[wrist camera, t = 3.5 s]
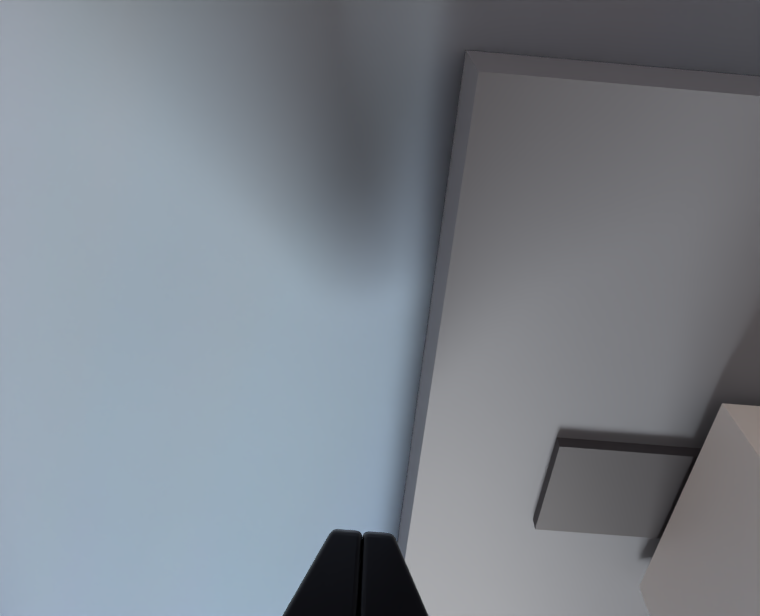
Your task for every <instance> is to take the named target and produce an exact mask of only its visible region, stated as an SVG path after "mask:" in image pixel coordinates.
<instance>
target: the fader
mask: <svg viewBox="0 0 760 616" xmlns="http://www.w3.org/2000/svg"><path fill="white" fill-rule="evenodd" d="M639 587H640V590H641V593H642V595H643V598H644V601H645V603H646V606H647V609H648V611H649V614H650V616H760V406H751V405H738V404H725V403H722V405H721V407H720V409H719V411H718V413H717V416H716V418H715V420H714V422H713V424H712V427H711V429H710V431H709V433H708V436H707V438H706V440H705V442H704V444H703V447H702V449H701V451H700V453H699V455H698V458H697V460H696V462H695V464H694V467H693V469H692V471H691V473H690V475H689V478H688V480H687V482H686V484H685V486H684V489H683V491H682V493H681V495H680V497H679V500H678V502H677V504H676V506H675V509H674V511H673V513H672V515H671V517H670V520H669V522H668V524H667V526H666V528H665V531H664V533H663V535H662V537H661V540H660V542H659V544H658V546H657V548H656V551H655V553H654V555H653V557H652V559H651V562H650V564H649V566H648V568H647V570H646V573H645V575H644V577H643V579H642V582H641V584H640V586H639Z"/></svg>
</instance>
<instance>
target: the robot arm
mask: <svg viewBox="0 0 760 616" xmlns="http://www.w3.org/2000/svg"><path fill="white" fill-rule="evenodd" d="M283 616H428V613H427V611H426V609H425V606H424V604H423V602H422V599H421V597H420V595H419V592H418V590H417V588H416V585H415V583H414V581H413V578H412V576H411V574H410V571H409V569H408V567H407V564H406V562H405V560H404V557H403V555H402V553H401V550H400V548H399V546H398V543H397V541H396V539H395V537H394V536H393V535H392V534H390V533H382V532H366V533H364V535H363V537H362V534H361V533H360V532H359V531H355V530H341V529H335V530H333V531H332V532H331V533H330V534H329V536H328V537H327V539H326V541H325V543H324V544H323V546H322V548H321V549H320V551H319V553H318V555H317V556H316V558H315V560H314V562H313V563H312V565H311V567H310V569H309V570H308V572H307V574H306V576H305V577H304V579H303V581H302V583H301V584H300V586H299V588H298V590H297V591H296V593H295V595H294V597H293V598H292V600H291V602H290V604H289V605H288V607H287V609H286V611H285V612H284V614H283Z"/></svg>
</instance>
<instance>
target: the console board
mask: <svg viewBox="0 0 760 616" xmlns="http://www.w3.org/2000/svg"><path fill="white" fill-rule="evenodd" d="M722 403H725V404H738V405H751V406H760V76H750V75H739V74H728V73H717V72H705V71H694V70H683V69H671V68H660V67H649V66H638V65H626V64H615V63H604V62H593V61H581V60H570V59H559V58H547V57H536V56H525V55H514V54H502V53H491V52H480V51H469V50H466V52H465V60H464V67H463V74H462V81H461V89H460V96H459V103H458V110H457V117H456V125H455V132H454V139H453V146H452V153H451V161H450V168H449V175H448V182H447V189H446V197H445V204H444V211H443V218H442V225H441V233H440V240H439V247H438V254H437V261H436V269H435V276H434V283H433V290H432V297H431V305H430V312H429V319H428V326H427V334H426V341H425V348H424V355H423V362H422V370H421V377H420V384H419V391H418V398H417V406H416V413H415V420H414V427H413V434H412V442H411V449H410V456H409V463H408V470H407V478H406V485H405V492H404V499H403V506H402V514H401V521H400V528H399V535H398V542H397V543H398V546H399V548H400V550H401V553H402V555H403V557H404V560H405V562H406V564H407V567H408V569H409V571H410V574H411V576H412V578H413V581H414V583H415V585H416V588H417V590H418V592H419V595H420V597H421V599H422V602H423V604H424V606H425V609H426V611H427V613H428V616H650V614H649V611H648V609H647V606H646V603H645V601H644V598H643V595H642V593H641V590H640V587H639V586H640V584H641V582H642V579H643V577H644V575H645V573H646V570H647V568H648V566H649V564H650V562H651V559H652V557H653V555H654V553H655V551H656V548H657V546H658V544H659V542H660V540H661V537H662V535H663V533H664V531H665V528H666V526H667V524H668V522H669V520H670V517H671V515H672V513H673V511H674V509H675V506H676V504H677V502H678V500H679V497H680V495H681V493H682V491H683V489H684V486H685V484H686V482H687V480H688V478H689V475H690V473H691V471H692V469H693V467H694V464H695V462H696V460H697V458H698V455H699V453H700V451H701V449H702V447H703V444H704V442H705V440H706V438H707V436H708V433H709V431H710V429H711V427H712V424H713V422H714V420H715V418H716V416H717V413H718V411H719V409H720V407H721V405H722Z"/></svg>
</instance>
